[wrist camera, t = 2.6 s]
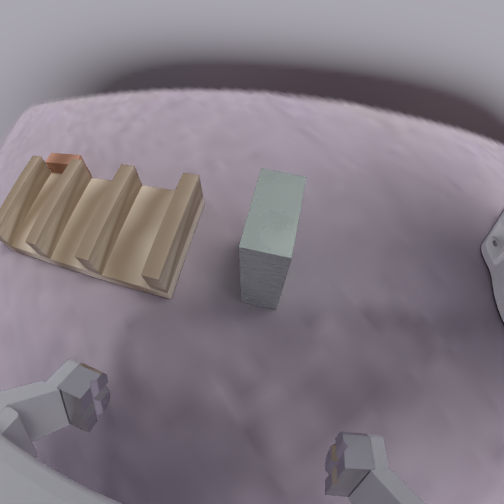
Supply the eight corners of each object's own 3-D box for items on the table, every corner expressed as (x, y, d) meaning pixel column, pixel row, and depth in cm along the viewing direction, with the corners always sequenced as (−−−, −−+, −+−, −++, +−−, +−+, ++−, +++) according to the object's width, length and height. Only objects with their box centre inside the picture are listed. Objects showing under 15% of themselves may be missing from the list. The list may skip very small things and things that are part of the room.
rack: (208, 193, 32) (204, 163, 28) (171, 299, 27) (158, 279, 23) (53, 170, 34) (39, 146, 30) (10, 249, 29) (-11, 229, 25)
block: (289, 247, 29) (306, 177, 21) (276, 309, 27) (291, 258, 18) (256, 240, 30) (261, 168, 21) (241, 302, 27) (238, 246, 18)
